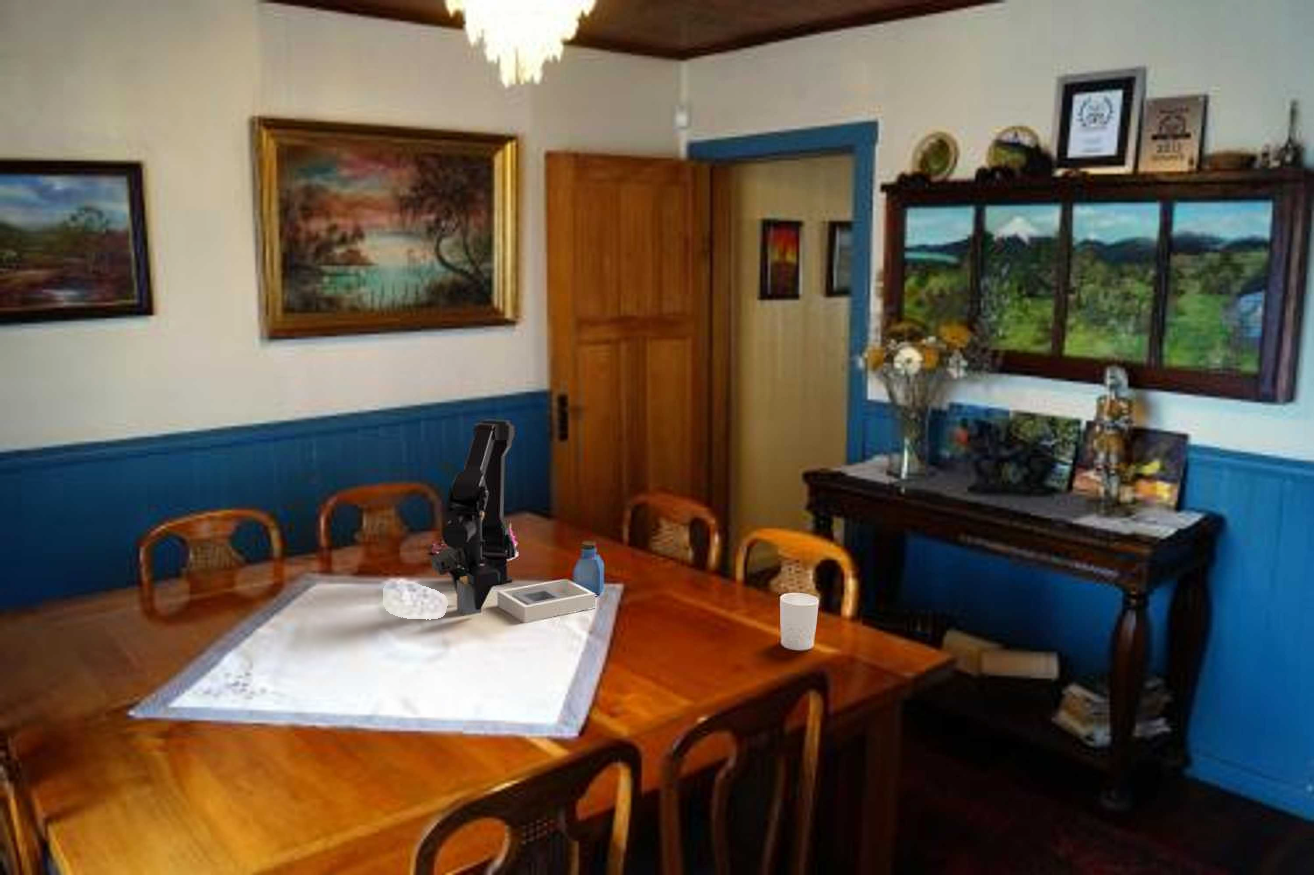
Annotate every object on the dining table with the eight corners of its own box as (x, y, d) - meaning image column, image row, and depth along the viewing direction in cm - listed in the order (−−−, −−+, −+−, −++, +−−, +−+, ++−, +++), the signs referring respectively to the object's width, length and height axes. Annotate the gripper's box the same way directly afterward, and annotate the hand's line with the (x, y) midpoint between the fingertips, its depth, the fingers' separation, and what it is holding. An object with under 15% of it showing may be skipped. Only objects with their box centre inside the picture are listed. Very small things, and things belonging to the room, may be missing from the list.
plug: (457, 610, 235) (456, 576, 234) (473, 607, 237) (473, 574, 236) (464, 615, 232) (464, 581, 231) (481, 612, 234) (481, 578, 233)
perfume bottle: (603, 588, 253) (604, 540, 251) (599, 596, 247) (600, 547, 245) (578, 587, 254) (578, 539, 251) (573, 595, 247) (574, 546, 245)
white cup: (819, 641, 222) (821, 595, 220) (812, 654, 214) (814, 607, 213) (782, 635, 224) (784, 590, 223) (774, 648, 217) (776, 602, 215)
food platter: (415, 549, 283) (414, 516, 281) (488, 535, 299) (488, 503, 297) (466, 571, 265) (466, 535, 263) (541, 555, 281) (542, 521, 279)
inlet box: (497, 605, 239) (497, 591, 238) (566, 592, 249) (566, 578, 248) (524, 622, 228) (524, 607, 228) (595, 608, 239) (595, 593, 238)
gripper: (417, 531, 235) (418, 598, 237) (452, 551, 220) (453, 622, 222) (463, 524, 241) (463, 590, 244) (500, 543, 226) (500, 613, 229)
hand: (469, 603), depth 234 cm, fingers open, 9 cm apart
